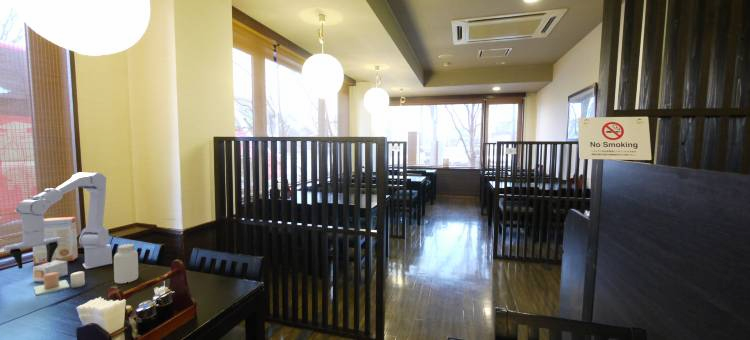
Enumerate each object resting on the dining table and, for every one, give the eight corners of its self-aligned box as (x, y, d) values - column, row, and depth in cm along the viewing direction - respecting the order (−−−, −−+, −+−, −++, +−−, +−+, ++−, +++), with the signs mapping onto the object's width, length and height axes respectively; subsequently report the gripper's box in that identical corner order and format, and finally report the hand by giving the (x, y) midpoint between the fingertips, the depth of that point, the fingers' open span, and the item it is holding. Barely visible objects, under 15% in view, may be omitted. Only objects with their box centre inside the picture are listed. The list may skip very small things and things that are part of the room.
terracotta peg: (59, 283, 124) (59, 271, 124) (58, 287, 121) (57, 274, 121) (45, 286, 122) (44, 273, 121) (43, 289, 119) (42, 277, 118)
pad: (65, 281, 128) (65, 279, 128) (69, 287, 122) (69, 286, 122) (33, 288, 121) (33, 286, 121) (36, 295, 115) (36, 294, 115)
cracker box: (78, 257, 154) (76, 216, 152) (72, 261, 149) (71, 218, 147) (40, 260, 148) (38, 218, 146) (32, 265, 143) (30, 221, 141)
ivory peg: (83, 282, 127) (83, 270, 127) (85, 285, 125) (85, 273, 125) (70, 285, 124) (69, 273, 124) (71, 288, 122) (71, 276, 121)
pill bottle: (142, 277, 133) (142, 244, 132) (122, 285, 126) (121, 249, 124) (130, 274, 136) (129, 241, 135) (109, 282, 128) (108, 247, 127)
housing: (57, 273, 135) (56, 259, 135) (68, 274, 134) (68, 260, 134) (32, 281, 126) (31, 267, 126) (44, 283, 126) (43, 268, 125)
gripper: (56, 225, 127) (57, 257, 128) (1, 232, 114) (3, 268, 115) (62, 227, 123) (63, 260, 124) (6, 236, 111) (8, 272, 112)
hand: (35, 264), depth 119 cm, fingers open, 7 cm apart
